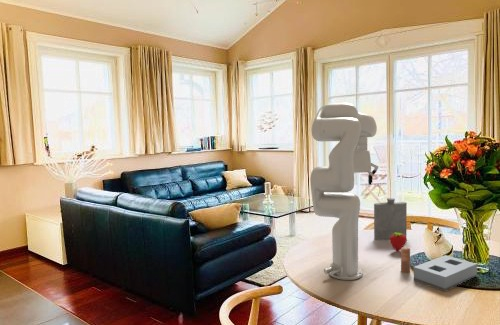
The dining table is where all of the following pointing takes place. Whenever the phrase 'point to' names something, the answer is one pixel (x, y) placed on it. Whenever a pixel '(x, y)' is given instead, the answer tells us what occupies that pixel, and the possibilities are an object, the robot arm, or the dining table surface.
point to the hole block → (444, 272)
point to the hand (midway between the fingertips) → (359, 184)
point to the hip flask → (389, 219)
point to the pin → (405, 259)
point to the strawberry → (398, 241)
